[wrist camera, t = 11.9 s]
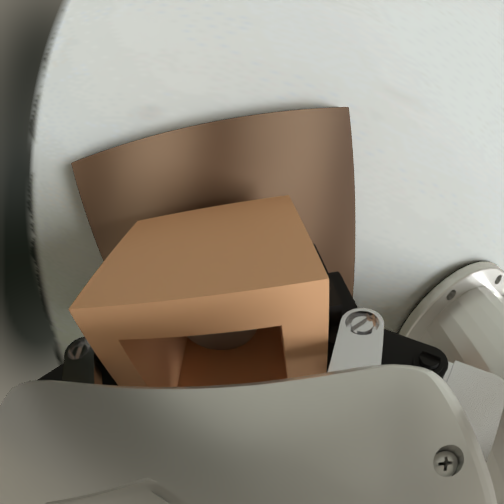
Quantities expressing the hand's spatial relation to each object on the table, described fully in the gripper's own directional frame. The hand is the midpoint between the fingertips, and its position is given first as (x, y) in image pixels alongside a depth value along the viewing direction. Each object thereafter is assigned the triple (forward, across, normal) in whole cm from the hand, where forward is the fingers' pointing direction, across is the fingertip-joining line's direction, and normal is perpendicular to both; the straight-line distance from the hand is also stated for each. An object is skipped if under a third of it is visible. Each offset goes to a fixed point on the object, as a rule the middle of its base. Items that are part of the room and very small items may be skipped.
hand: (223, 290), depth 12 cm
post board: (+4, 0, 0) cm, 4 cm away
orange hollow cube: (+1, 0, 0) cm, 1 cm away
